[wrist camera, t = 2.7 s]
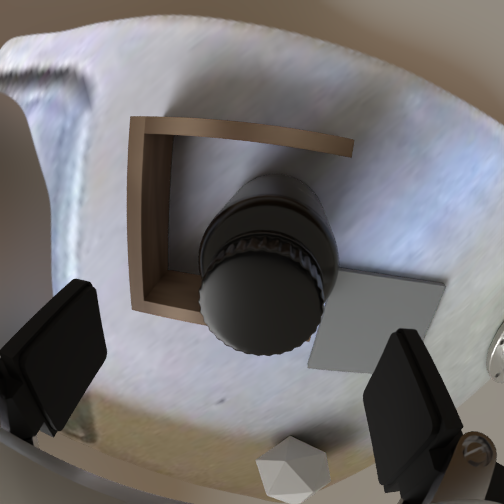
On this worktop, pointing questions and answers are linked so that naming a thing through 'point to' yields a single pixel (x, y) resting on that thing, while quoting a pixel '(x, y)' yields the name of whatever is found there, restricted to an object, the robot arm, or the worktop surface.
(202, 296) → the supplement bottle
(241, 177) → the worktop surface
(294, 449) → the die
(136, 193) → the cubby
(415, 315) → the pad
